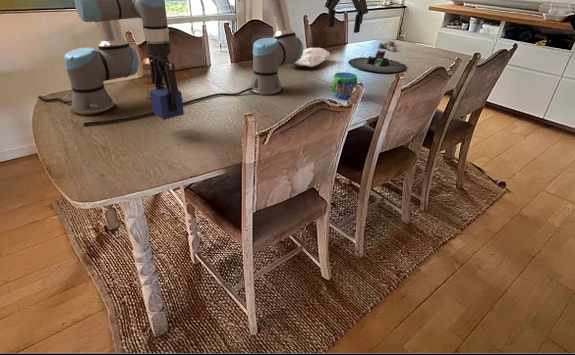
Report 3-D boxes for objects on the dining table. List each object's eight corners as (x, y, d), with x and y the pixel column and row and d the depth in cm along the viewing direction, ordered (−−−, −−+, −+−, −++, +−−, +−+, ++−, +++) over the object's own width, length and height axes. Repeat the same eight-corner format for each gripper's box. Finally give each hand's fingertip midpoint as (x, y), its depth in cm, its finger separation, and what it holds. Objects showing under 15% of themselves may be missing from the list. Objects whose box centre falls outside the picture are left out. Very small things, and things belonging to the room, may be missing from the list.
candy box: (157, 97, 164) (152, 63, 155) (147, 98, 163) (141, 63, 155) (158, 91, 171) (153, 57, 163) (149, 91, 170) (143, 58, 162)
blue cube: (163, 120, 127) (159, 96, 123) (153, 113, 132) (149, 90, 127) (184, 114, 132) (181, 91, 127) (174, 108, 137) (171, 86, 132)
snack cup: (348, 90, 181) (350, 70, 176) (362, 97, 174) (365, 76, 168) (323, 95, 174) (325, 74, 168) (337, 102, 166) (340, 80, 161)
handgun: (406, 44, 264) (388, 40, 272) (394, 47, 252) (376, 43, 260) (405, 48, 265) (387, 44, 273) (394, 52, 254) (375, 47, 262)
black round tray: (418, 67, 219) (420, 52, 215) (377, 75, 202) (379, 59, 197) (375, 58, 244) (377, 43, 239) (336, 64, 226) (337, 49, 222)
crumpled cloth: (269, 61, 216) (271, 46, 210) (311, 52, 236) (313, 38, 230) (296, 77, 203) (298, 61, 198) (337, 66, 223) (341, 52, 218)
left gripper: (183, 45, 114) (191, 113, 127) (154, 34, 127) (164, 97, 139) (161, 49, 110) (171, 119, 122) (133, 37, 122) (145, 102, 135)
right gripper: (383, -28, 132) (373, 33, 144) (331, -33, 148) (327, 23, 159) (370, -28, 128) (362, 36, 139) (319, -32, 143) (315, 25, 155)
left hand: (167, 107), depth 131 cm, fingers closed on blue cube, 7 cm apart
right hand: (343, 29), depth 149 cm, fingers open, 13 cm apart
